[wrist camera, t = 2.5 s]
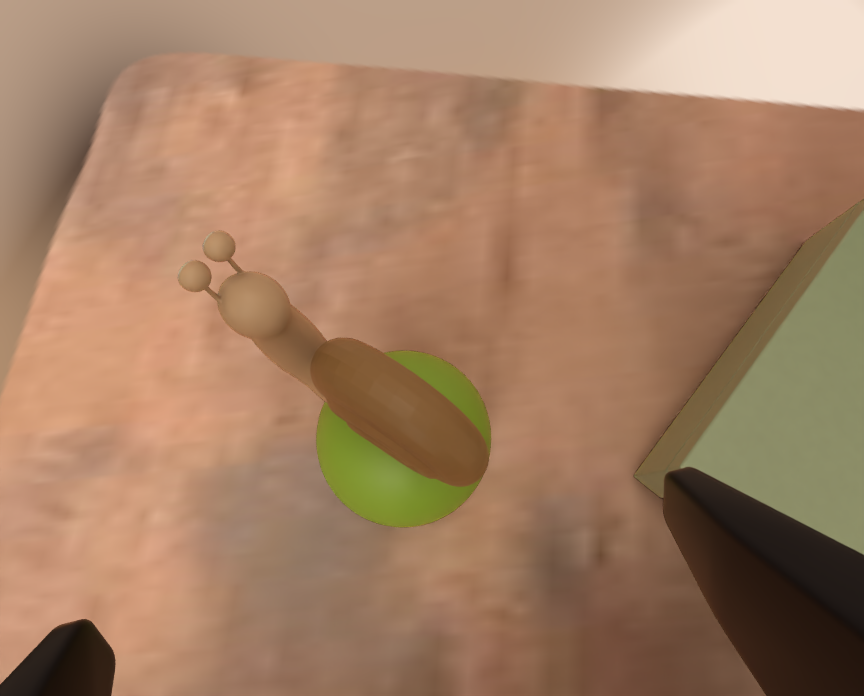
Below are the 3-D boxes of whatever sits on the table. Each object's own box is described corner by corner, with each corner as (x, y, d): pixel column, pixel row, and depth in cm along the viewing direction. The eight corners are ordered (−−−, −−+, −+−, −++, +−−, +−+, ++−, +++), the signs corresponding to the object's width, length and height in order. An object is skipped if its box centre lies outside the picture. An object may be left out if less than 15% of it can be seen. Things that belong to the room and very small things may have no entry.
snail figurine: (367, 333, 22) (284, 129, 10) (512, 423, 21) (605, 312, 9) (281, 454, 20) (76, 379, 9) (431, 556, 19) (420, 624, 8)
